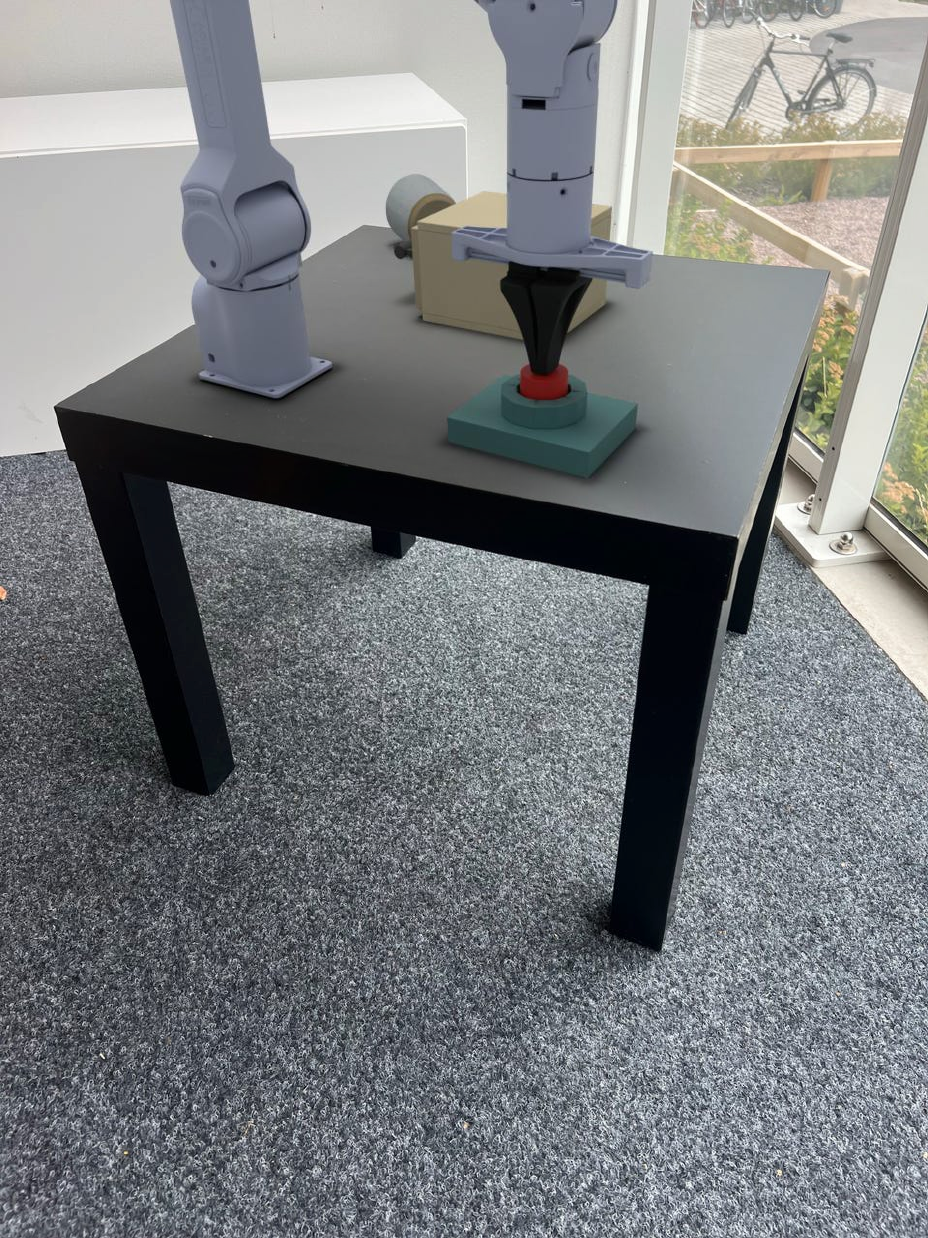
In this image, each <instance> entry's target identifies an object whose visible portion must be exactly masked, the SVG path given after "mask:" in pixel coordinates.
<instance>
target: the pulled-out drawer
mask: <svg viewBox="0 0 928 1238" xmlns="http://www.w3.org/2000/svg"><path fill="white" fill-rule="evenodd" d="M393 253H394V256H395V257H396V259H399V260H404V259H405V258H407V257H412V265H413V267H412V268H413V284H414V298H415V299H414V300H415V301H414V302H415V309H418V310H422V293H421V276H420V259H419V242H418V225H417V226H415V227H412V228H411V239H409V240H407V241H403V242H401V243H399V244H396V245H394V249H393Z"/></svg>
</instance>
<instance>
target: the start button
mask: <svg viewBox="0 0 928 1238" xmlns="http://www.w3.org/2000/svg"><path fill="white" fill-rule="evenodd" d="M519 374H520V394H521V395H522V396H523V397H525V398H529V399H534V400H555V399H559V398H562V397H565V396H566V395H567V390H568V374H569V369H568V368H567V367H566V366H565V365H563V364H560V363H559V365H558V367H557V368H556V369H555V370H553V371H552V372H551V373H550V374H548V375H541V374H536V373H531V370H530V365H529V363H528V364H526V365H524V366H523V367H522V368H521V369H520V373H519Z"/></svg>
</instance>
